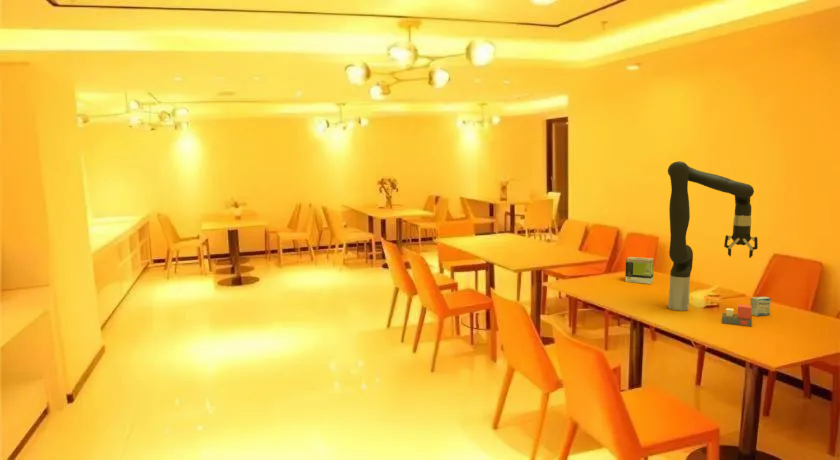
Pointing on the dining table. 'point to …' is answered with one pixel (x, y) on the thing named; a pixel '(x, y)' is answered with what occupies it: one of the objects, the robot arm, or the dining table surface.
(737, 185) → the robot arm
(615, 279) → the dining table surface
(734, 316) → the breaker panel
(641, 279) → the tea box
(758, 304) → the medicine box
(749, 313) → the red block
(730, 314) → the breaker plain
